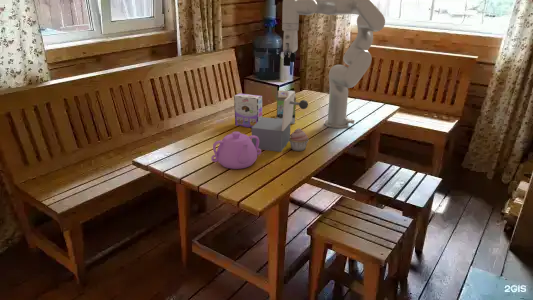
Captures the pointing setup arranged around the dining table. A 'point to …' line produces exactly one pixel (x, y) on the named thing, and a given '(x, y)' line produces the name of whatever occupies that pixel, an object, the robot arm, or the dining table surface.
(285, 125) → the lid flap
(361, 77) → the robot arm
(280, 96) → the tea box
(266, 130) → the carton
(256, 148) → the purple round pot
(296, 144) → the cupcake
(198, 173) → the dining table surface
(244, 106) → the candy box
